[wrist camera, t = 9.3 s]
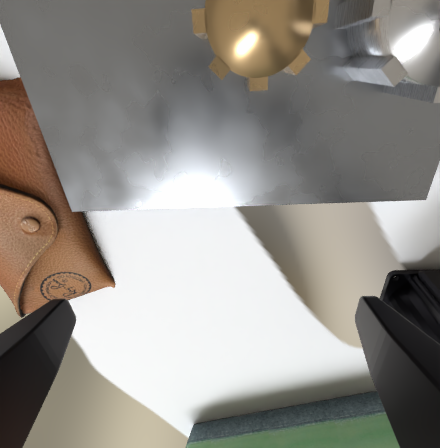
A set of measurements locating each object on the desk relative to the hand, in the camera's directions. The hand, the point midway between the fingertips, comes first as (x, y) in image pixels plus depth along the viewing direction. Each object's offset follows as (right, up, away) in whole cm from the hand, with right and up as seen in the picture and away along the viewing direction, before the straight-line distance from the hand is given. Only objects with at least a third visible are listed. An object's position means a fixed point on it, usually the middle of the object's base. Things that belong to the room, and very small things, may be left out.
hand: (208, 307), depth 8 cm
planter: (+9, -22, +27) cm, 36 cm away
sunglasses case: (-14, +4, +13) cm, 20 cm away
